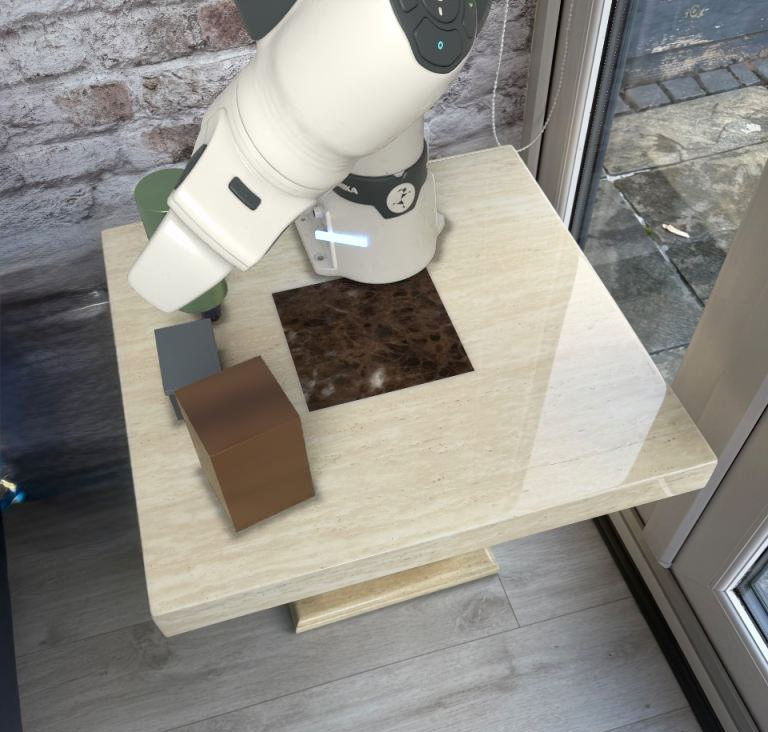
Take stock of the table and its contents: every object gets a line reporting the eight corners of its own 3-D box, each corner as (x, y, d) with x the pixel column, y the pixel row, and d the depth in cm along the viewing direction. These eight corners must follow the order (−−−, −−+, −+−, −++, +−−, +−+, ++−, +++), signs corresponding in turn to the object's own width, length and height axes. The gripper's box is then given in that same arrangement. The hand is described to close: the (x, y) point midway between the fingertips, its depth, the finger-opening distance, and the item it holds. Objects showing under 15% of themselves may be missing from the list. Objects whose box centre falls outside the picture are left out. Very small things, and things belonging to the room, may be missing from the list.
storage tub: (165, 361, 99) (153, 329, 94) (219, 350, 99) (210, 317, 95) (175, 423, 94) (163, 391, 89) (232, 410, 94) (223, 378, 90)
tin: (159, 284, 71) (124, 181, 62) (214, 263, 72) (186, 159, 63) (181, 321, 68) (147, 220, 60) (237, 299, 69) (212, 196, 61)
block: (202, 470, 90) (173, 390, 79) (278, 437, 92) (260, 354, 81) (236, 532, 86) (209, 457, 75) (315, 496, 88) (300, 417, 77)
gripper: (296, 25, 59) (201, 130, 69) (163, 208, 49) (74, 299, 59) (359, 96, 62) (259, 186, 72) (246, 282, 52) (148, 356, 62)
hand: (175, 238), depth 65 cm, fingers closed on tin, 5 cm apart
